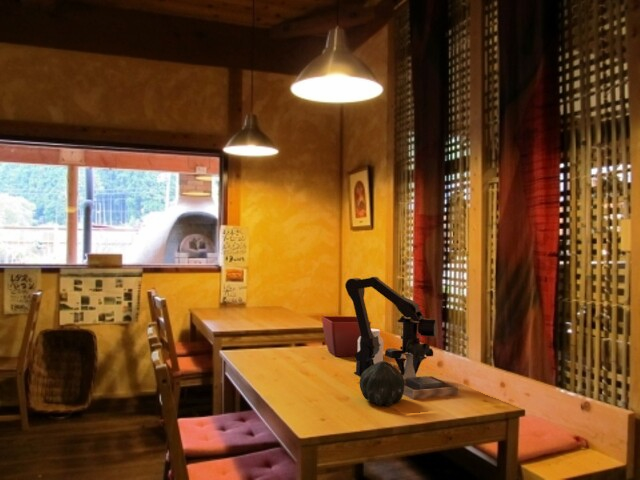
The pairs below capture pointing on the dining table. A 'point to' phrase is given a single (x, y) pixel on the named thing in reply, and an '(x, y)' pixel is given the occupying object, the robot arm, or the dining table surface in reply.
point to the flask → (409, 367)
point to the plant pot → (341, 334)
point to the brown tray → (431, 391)
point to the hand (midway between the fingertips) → (408, 374)
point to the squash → (382, 384)
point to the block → (422, 383)
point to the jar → (379, 355)
